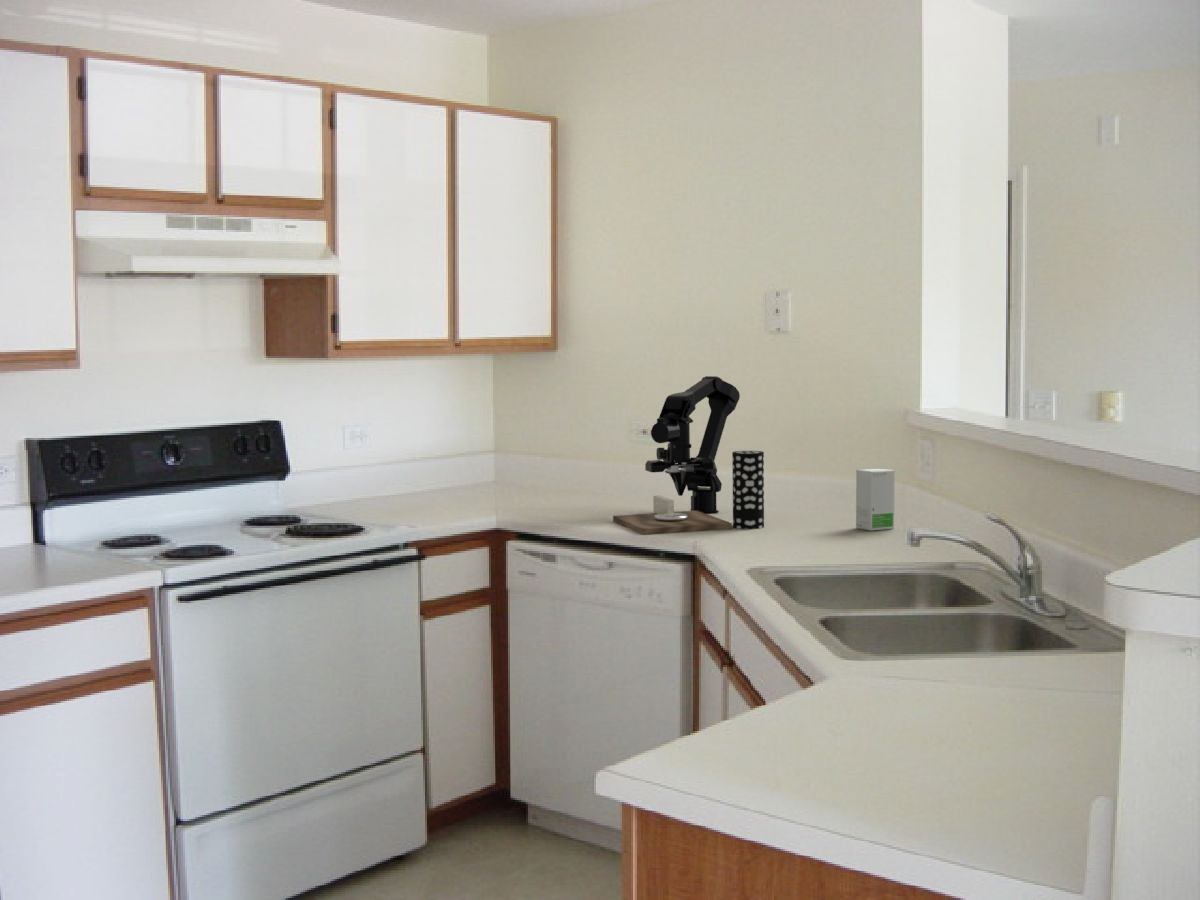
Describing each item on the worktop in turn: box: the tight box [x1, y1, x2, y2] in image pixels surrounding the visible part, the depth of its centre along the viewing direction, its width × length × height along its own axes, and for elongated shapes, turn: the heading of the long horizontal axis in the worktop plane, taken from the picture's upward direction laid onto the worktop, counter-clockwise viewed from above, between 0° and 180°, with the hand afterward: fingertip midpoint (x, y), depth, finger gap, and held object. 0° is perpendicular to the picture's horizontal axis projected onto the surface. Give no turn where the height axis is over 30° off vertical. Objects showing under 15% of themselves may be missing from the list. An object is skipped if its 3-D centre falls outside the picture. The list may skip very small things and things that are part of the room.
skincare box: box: [855, 468, 895, 532], centre depth 344 cm, size 8×7×16 cm
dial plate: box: [612, 510, 733, 536], centre depth 356 cm, size 25×25×2 cm
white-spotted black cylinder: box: [732, 450, 765, 530], centre depth 350 cm, size 8×8×20 cm
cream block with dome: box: [652, 495, 688, 521], centre depth 359 cm, size 16×9×5 cm, turn 17°
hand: (680, 495), depth 367 cm, fingers closed
